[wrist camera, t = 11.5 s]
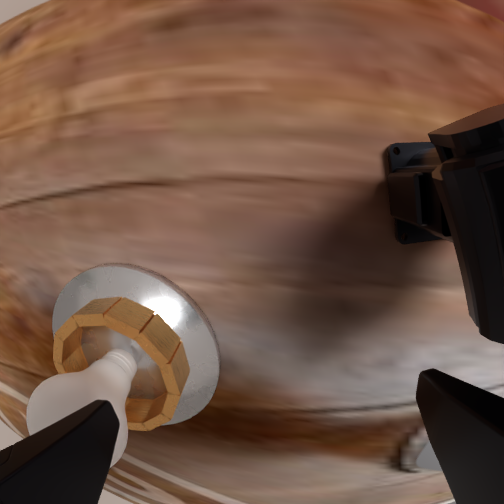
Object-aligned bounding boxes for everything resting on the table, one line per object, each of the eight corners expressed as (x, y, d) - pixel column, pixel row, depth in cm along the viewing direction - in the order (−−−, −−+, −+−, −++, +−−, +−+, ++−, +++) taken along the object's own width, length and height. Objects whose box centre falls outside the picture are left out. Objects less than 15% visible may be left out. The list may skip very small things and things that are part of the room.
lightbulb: (93, 376, 22) (24, 465, 11) (89, 311, 21) (-6, 394, 10) (162, 398, 22) (112, 508, 11) (166, 333, 21) (96, 447, 10)
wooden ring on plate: (199, 250, 20) (183, 267, 16) (235, 417, 23) (230, 452, 19) (39, 273, 21) (8, 289, 17) (92, 412, 24) (74, 438, 20)
